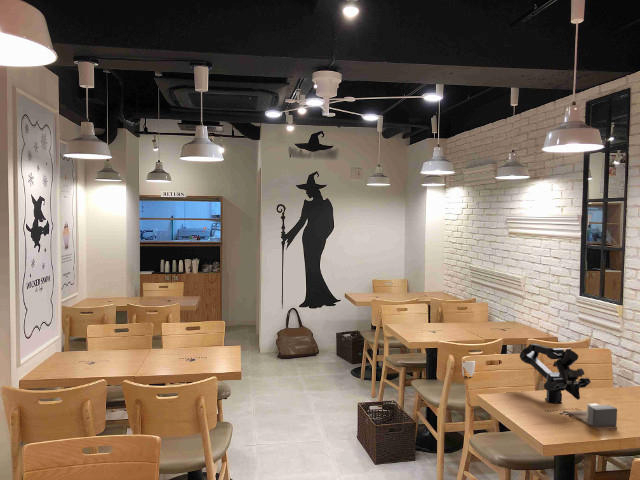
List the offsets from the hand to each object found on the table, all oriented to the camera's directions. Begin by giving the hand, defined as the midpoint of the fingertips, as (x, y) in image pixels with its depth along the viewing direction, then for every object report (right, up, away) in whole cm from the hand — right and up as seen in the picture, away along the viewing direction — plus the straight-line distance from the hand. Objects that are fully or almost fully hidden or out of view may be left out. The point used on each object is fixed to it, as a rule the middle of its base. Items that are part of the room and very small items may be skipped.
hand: (578, 399), depth 250 cm
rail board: (+2, -8, -8) cm, 12 cm away
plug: (+2, -6, -11) cm, 13 cm away
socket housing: (+3, -7, -15) cm, 17 cm away
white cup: (-37, -5, +60) cm, 71 cm away
